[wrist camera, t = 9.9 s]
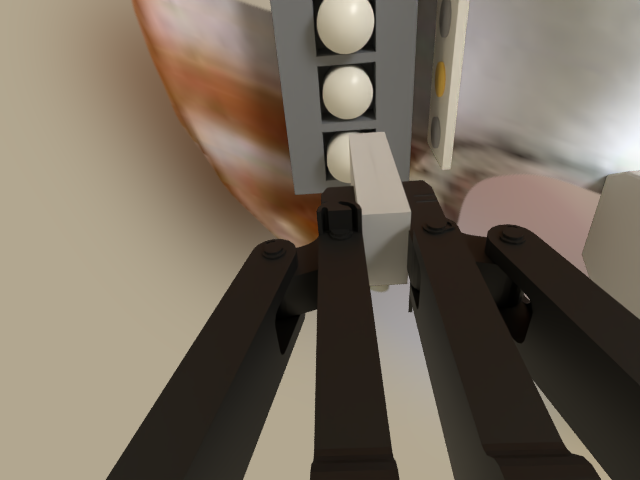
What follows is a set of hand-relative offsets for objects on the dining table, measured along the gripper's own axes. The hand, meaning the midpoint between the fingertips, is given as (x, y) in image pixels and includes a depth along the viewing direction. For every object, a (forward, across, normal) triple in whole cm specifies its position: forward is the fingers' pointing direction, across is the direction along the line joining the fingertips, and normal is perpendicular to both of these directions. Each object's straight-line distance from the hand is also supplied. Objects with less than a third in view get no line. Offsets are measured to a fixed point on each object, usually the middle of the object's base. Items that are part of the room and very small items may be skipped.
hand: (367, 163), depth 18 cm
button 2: (+23, 0, +3) cm, 24 cm away
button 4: (+23, 0, -9) cm, 25 cm away
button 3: (+25, 0, -3) cm, 25 cm away
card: (+26, +9, 0) cm, 28 cm away
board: (+26, 0, 0) cm, 26 cm away
